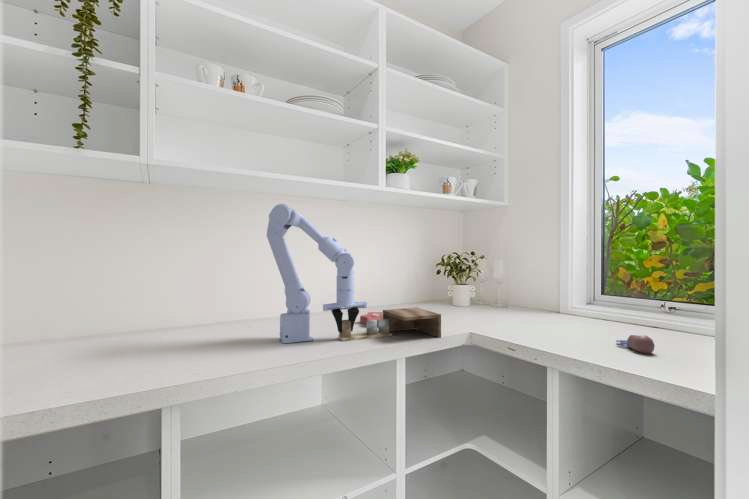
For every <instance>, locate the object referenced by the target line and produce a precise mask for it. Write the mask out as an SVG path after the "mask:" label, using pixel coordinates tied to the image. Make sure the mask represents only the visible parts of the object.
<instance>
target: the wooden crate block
mask: <svg viewBox="0 0 749 499" xmlns="http://www.w3.org/2000/svg"><path fill="white" fill-rule="evenodd" d="M382 312H383V319H389V332H398V331H406V330H418V331H421V332H423V333H426V334H428V335H430V334H431V336H433V337H435V336H436V337H435V338H438V339H440V338H442V314H441V313H438V312H434V311H431V310H427V309H424V308H420V307H405V308H402V307H401V308H391V309H390V308H389V309H382Z"/></svg>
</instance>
